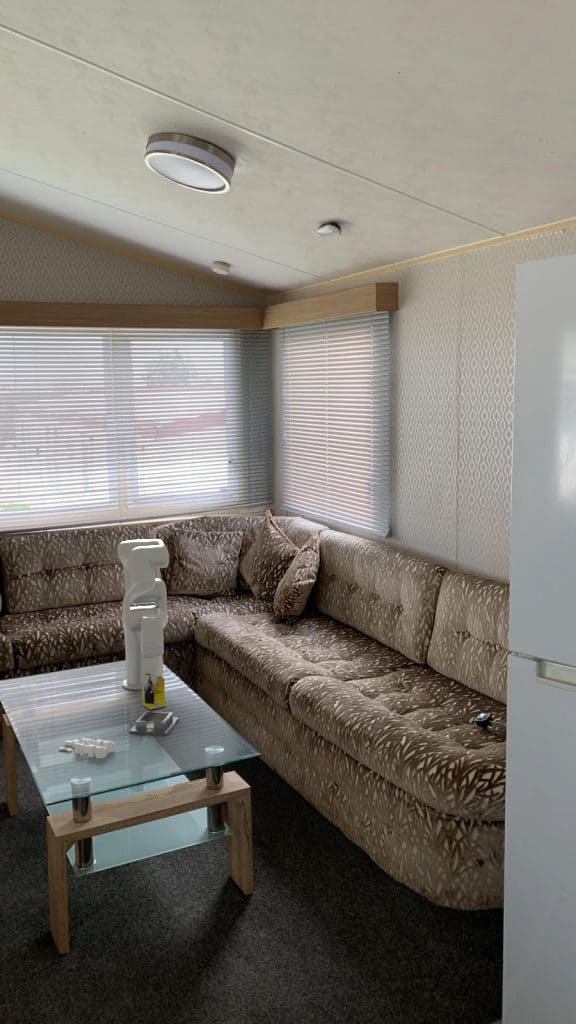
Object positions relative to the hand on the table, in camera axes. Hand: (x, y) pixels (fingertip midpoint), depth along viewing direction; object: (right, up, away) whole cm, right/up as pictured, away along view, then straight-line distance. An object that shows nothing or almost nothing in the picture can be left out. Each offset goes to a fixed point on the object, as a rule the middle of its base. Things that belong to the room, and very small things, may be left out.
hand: (153, 698), depth 294 cm
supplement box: (0, -3, +1) cm, 3 cm away
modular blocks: (-19, -14, -18) cm, 30 cm away
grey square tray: (0, -10, +1) cm, 10 cm away
